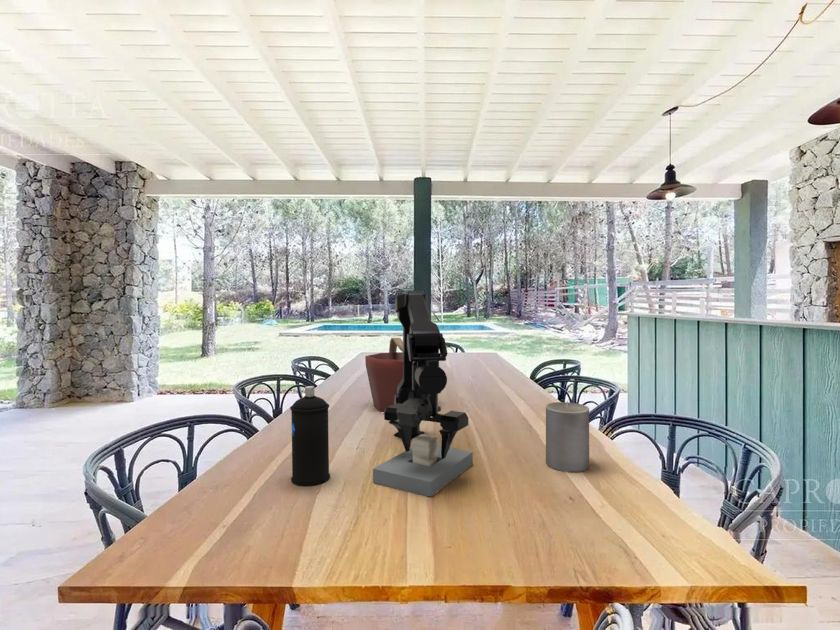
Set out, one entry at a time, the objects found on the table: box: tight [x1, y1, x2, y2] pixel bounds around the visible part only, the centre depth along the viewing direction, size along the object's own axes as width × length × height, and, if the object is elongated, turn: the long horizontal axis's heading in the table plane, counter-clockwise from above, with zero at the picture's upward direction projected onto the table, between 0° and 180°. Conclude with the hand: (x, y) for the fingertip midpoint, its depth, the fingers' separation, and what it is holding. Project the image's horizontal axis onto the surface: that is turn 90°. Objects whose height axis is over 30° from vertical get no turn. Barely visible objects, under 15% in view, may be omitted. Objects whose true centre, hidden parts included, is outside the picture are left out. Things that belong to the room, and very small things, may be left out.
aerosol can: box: [289, 385, 331, 487], centre depth 98 cm, size 8×8×20 cm
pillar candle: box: [545, 400, 590, 473], centre depth 105 cm, size 10×10×15 cm
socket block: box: [372, 445, 474, 498], centre depth 101 cm, size 20×14×3 cm
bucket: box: [365, 337, 403, 413], centre depth 160 cm, size 24×22×25 cm
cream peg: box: [411, 434, 438, 467], centre depth 100 cm, size 4×4×8 cm
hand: (425, 454), depth 100 cm, fingers open, 9 cm apart
